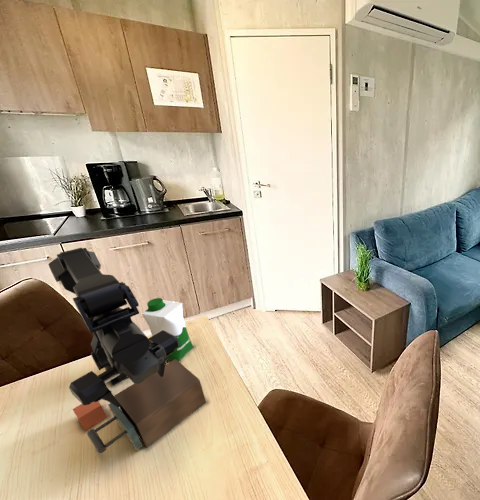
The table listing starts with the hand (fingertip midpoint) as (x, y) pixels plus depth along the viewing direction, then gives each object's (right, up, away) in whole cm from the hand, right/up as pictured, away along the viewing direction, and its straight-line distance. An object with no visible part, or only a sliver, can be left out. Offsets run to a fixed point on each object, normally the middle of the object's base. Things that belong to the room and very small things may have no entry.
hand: (141, 390), depth 65 cm
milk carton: (-10, -2, +29) cm, 31 cm away
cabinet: (-1, -10, +10) cm, 15 cm away
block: (-18, -11, +8) cm, 23 cm away
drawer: (-3, -11, +6) cm, 13 cm away
